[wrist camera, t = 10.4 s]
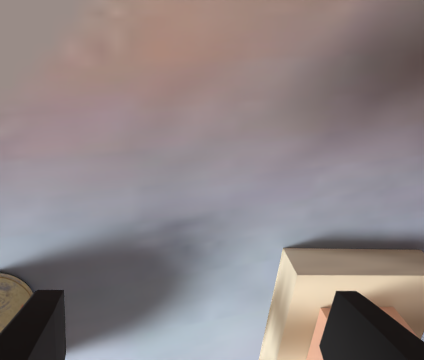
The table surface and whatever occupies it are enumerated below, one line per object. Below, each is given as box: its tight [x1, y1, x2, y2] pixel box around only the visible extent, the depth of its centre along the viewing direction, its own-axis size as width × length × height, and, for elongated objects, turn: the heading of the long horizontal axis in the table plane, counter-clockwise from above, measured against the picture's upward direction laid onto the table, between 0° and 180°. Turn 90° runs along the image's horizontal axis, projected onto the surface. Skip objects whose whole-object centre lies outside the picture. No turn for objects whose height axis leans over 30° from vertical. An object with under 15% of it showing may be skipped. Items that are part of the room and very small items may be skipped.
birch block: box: [259, 248, 424, 360], centre depth 24 cm, size 9×9×3 cm
